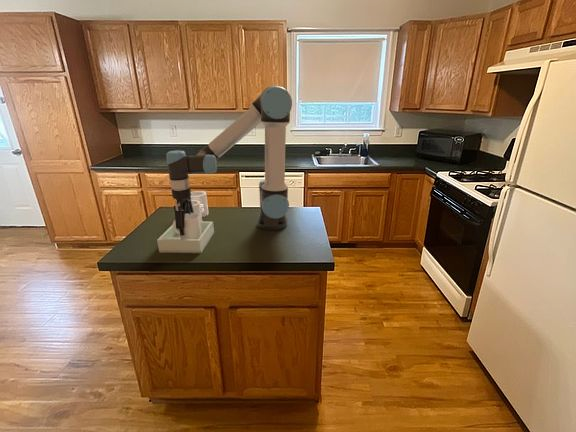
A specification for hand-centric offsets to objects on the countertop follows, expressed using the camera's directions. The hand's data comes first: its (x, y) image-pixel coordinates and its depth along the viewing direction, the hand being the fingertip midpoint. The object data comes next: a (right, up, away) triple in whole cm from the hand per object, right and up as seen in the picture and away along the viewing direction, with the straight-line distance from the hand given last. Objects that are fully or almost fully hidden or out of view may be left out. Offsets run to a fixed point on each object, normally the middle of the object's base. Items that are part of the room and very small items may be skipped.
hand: (187, 236), depth 138 cm
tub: (0, -3, +1) cm, 3 cm away
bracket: (-4, +7, +27) cm, 28 cm away
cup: (0, 0, 0) cm, 0 cm away
